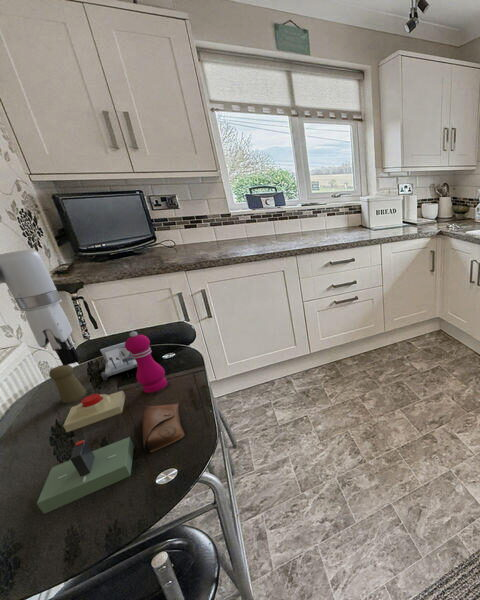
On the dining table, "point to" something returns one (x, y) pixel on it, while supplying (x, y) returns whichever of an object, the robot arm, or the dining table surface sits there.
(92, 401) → the red button
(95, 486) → the panel
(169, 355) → the dining table surface
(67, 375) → the cork
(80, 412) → the button block
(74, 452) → the handle knob
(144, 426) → the sunglasses case
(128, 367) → the silver toaster
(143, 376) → the pepper mill
